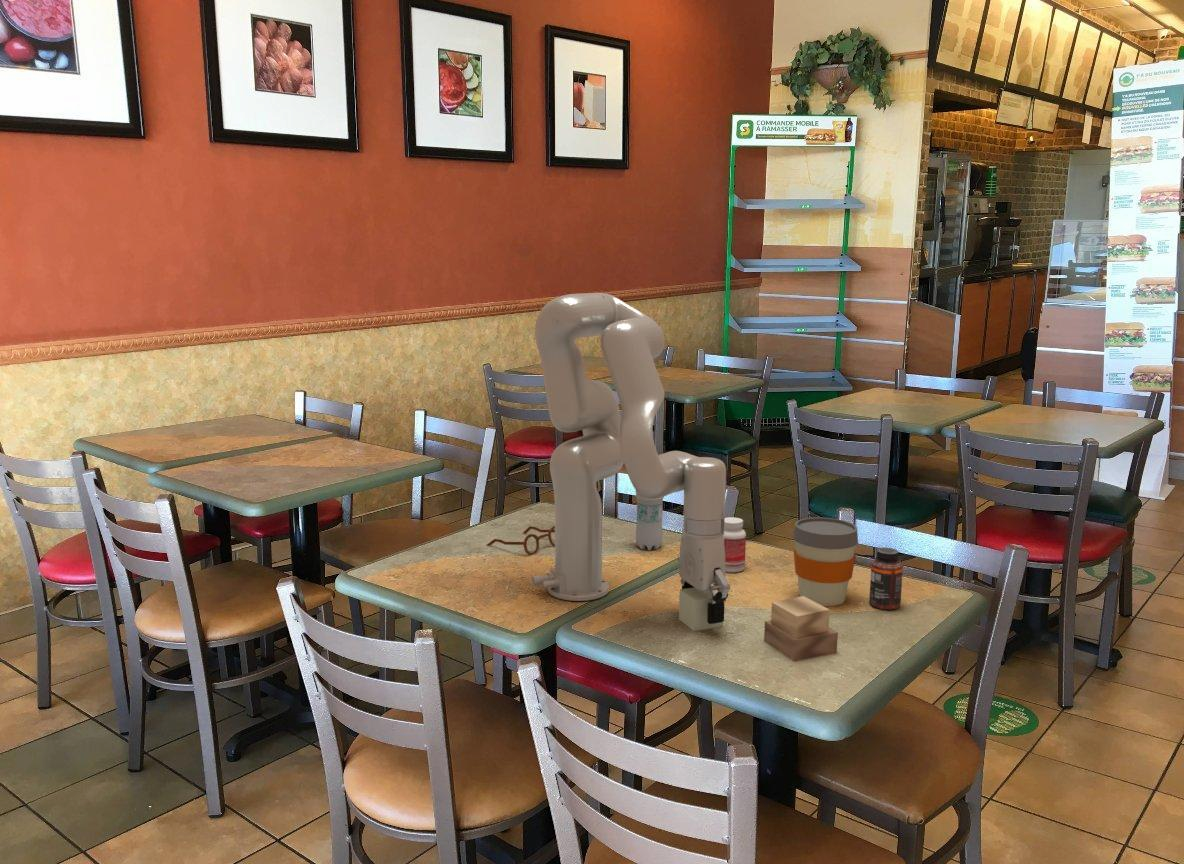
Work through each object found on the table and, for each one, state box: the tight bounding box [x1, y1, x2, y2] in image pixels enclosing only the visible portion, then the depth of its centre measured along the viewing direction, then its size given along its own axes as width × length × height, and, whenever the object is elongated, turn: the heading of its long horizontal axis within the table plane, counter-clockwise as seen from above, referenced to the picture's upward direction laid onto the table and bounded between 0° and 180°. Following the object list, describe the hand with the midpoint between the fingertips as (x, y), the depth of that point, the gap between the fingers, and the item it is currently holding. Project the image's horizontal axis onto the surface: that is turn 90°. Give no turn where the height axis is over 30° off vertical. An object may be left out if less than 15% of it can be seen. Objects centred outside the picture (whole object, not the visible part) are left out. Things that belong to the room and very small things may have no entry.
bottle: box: [634, 489, 665, 551], centre depth 218 cm, size 7×7×20 cm
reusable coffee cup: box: [792, 517, 859, 607], centre depth 188 cm, size 13×13×15 cm
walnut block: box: [763, 619, 839, 661], centre depth 166 cm, size 9×9×4 cm
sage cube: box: [678, 587, 724, 632], centre depth 176 cm, size 6×6×6 cm
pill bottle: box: [723, 516, 747, 573], centre depth 205 cm, size 6×6×11 cm
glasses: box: [486, 525, 555, 556], centre depth 222 cm, size 13×13×5 cm
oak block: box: [770, 596, 830, 638], centre depth 165 cm, size 7×7×4 cm
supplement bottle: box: [868, 547, 904, 611], centre depth 184 cm, size 6×6×11 cm
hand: (702, 613), depth 176 cm, fingers open, 9 cm apart
